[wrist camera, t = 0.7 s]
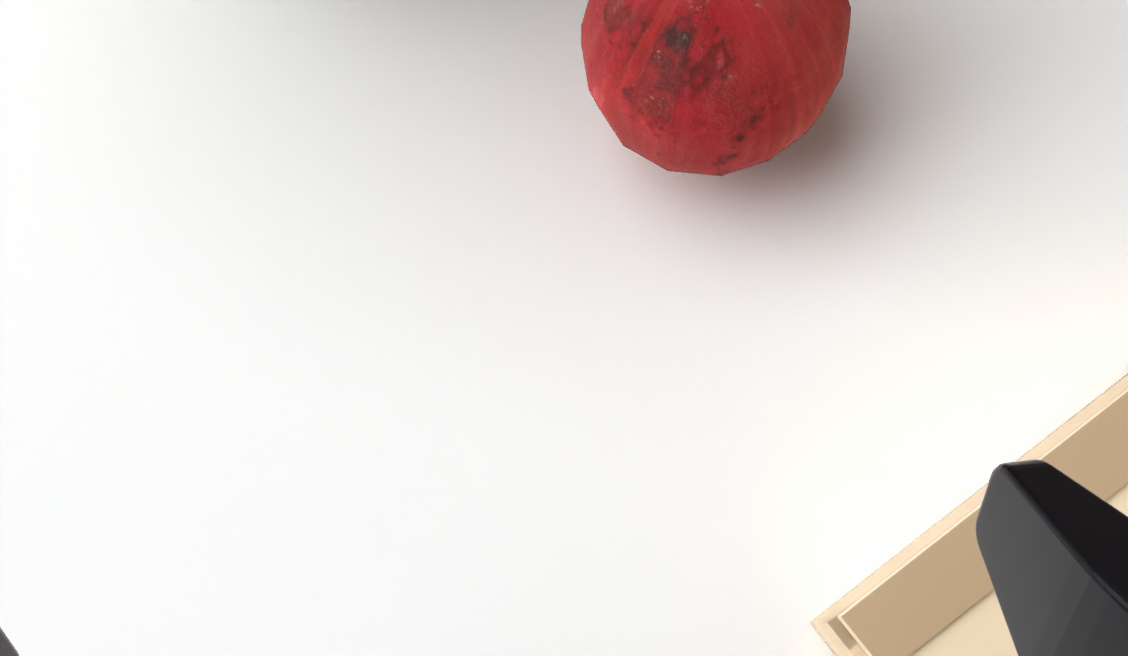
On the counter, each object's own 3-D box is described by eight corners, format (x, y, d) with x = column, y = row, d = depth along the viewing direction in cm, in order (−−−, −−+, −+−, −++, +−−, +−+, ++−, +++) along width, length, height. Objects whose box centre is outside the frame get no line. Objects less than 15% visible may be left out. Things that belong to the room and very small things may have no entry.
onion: (751, 265, 25) (771, 107, 17) (557, 158, 26) (496, -30, 19) (869, 79, 26) (938, -149, 18) (675, -14, 27) (662, -261, 20)
